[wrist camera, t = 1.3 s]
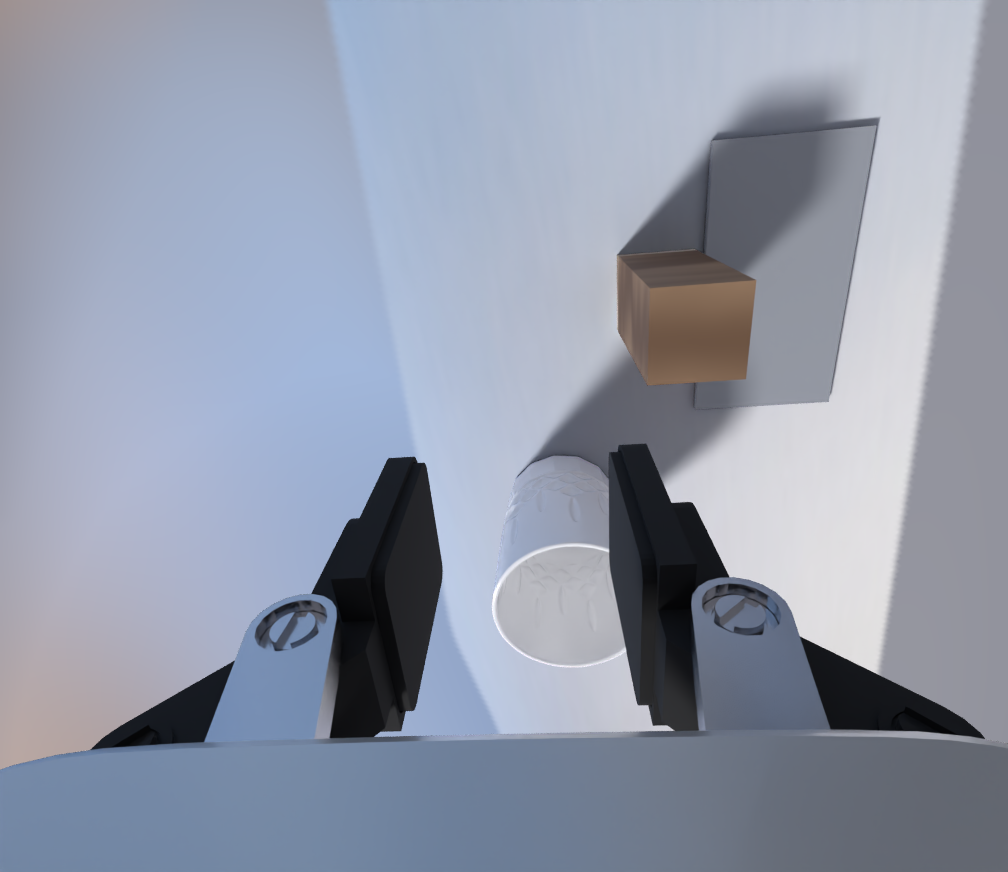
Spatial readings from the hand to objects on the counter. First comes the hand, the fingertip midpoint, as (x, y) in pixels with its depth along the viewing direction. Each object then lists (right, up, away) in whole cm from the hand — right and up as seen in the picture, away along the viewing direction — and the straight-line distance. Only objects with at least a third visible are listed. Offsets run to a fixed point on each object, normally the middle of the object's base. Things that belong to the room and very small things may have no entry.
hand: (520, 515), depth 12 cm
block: (+8, +10, +19) cm, 22 cm away
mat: (+14, +10, +18) cm, 25 cm away
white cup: (+3, -2, +25) cm, 25 cm away
